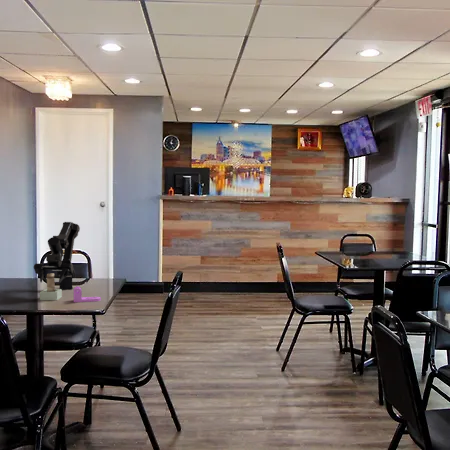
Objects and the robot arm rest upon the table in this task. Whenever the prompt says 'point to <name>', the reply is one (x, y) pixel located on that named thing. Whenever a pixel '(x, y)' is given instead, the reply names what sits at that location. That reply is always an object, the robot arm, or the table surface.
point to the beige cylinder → (50, 282)
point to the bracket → (79, 297)
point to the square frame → (51, 295)
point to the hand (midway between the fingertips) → (50, 282)
